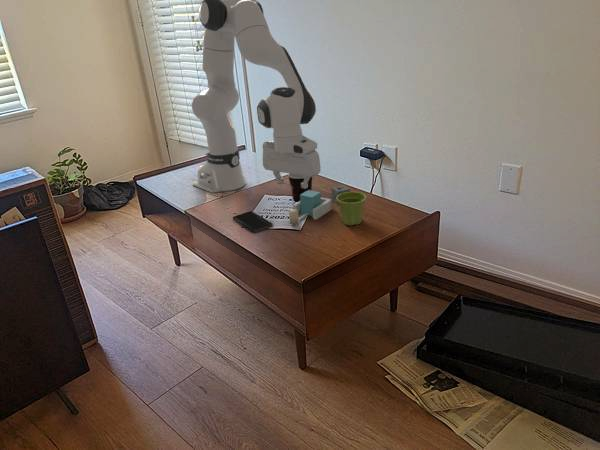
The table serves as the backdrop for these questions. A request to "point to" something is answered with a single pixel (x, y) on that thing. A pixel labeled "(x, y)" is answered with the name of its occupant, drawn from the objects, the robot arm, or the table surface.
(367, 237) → the table surface
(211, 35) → the robot arm
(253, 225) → the phone
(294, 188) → the coffee mug
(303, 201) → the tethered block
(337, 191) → the grey cube with symbols
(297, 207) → the rail lane
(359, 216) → the plant pot
